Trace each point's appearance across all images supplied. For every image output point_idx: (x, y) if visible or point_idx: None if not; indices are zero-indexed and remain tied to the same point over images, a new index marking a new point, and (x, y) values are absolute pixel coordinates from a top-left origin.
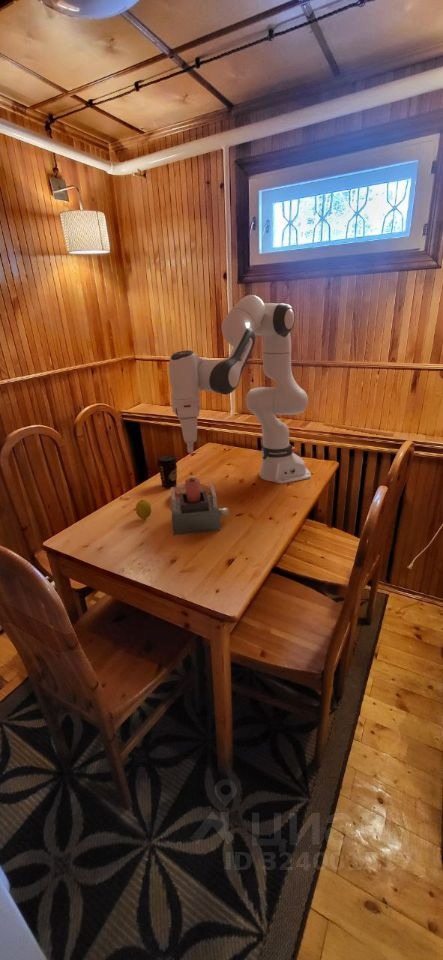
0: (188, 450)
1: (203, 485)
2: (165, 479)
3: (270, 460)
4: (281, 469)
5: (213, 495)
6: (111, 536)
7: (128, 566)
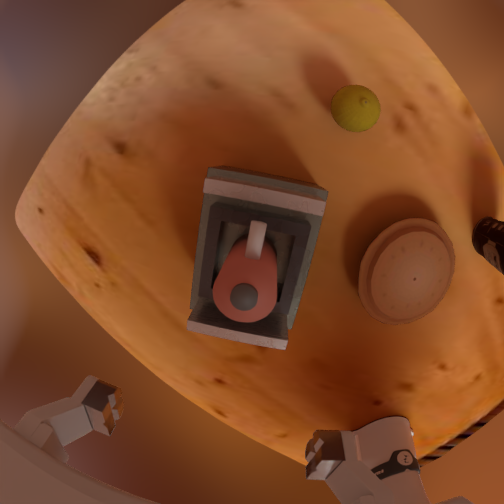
0: (83, 387)
1: (411, 316)
2: (492, 230)
3: (378, 458)
4: (357, 455)
5: (187, 322)
6: (284, 24)
7: (139, 58)
